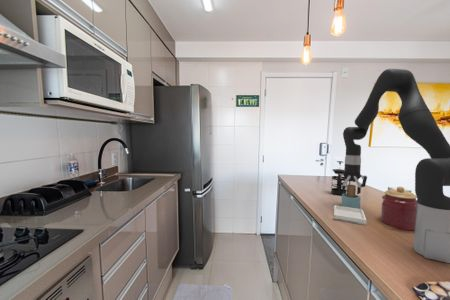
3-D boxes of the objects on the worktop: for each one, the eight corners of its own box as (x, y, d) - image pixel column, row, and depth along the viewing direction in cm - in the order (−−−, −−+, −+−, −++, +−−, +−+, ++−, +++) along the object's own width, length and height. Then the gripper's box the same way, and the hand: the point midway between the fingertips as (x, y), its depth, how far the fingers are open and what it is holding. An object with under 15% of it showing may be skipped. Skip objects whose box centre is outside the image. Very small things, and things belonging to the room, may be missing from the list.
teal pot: (360, 211, 108) (361, 199, 108) (341, 208, 112) (342, 196, 112) (358, 206, 116) (359, 194, 115) (341, 204, 120) (341, 192, 119)
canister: (421, 234, 84) (424, 192, 83) (382, 226, 91) (384, 188, 90) (413, 222, 95) (415, 185, 94) (378, 216, 102) (380, 182, 101)
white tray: (366, 225, 92) (366, 220, 92) (333, 219, 98) (334, 214, 98) (362, 214, 105) (362, 209, 105) (334, 209, 111) (334, 205, 111)
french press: (330, 195, 137) (331, 161, 135) (329, 191, 146) (330, 160, 144) (350, 197, 132) (352, 162, 131) (348, 193, 141) (350, 161, 139)
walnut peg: (354, 208, 111) (356, 186, 110) (346, 206, 113) (347, 185, 112) (354, 205, 115) (355, 185, 114) (346, 204, 117) (347, 184, 116)
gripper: (337, 163, 112) (336, 192, 114) (369, 165, 105) (367, 196, 107) (337, 161, 119) (336, 189, 120) (367, 163, 112) (365, 193, 113)
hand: (351, 192), depth 113 cm, fingers open, 6 cm apart
